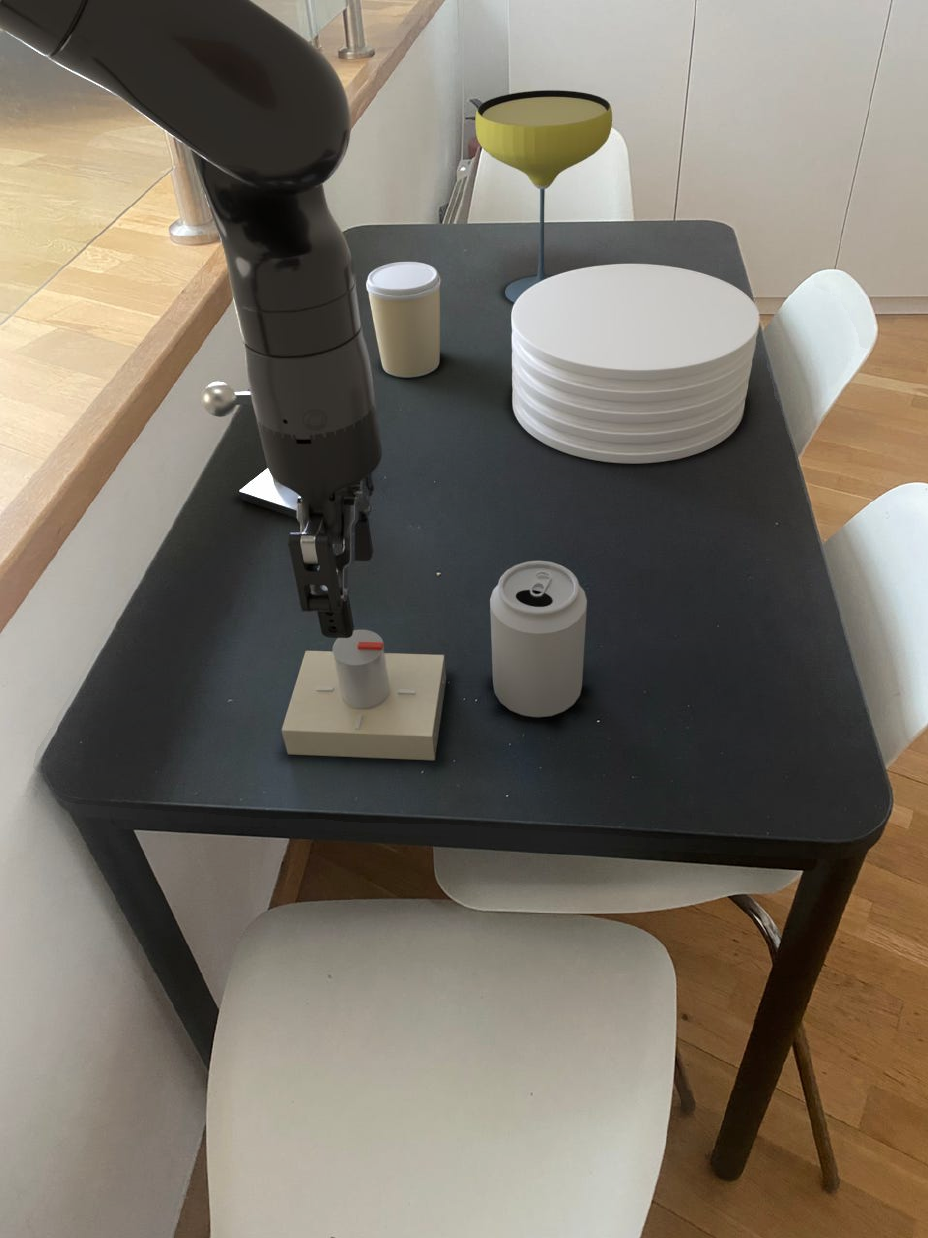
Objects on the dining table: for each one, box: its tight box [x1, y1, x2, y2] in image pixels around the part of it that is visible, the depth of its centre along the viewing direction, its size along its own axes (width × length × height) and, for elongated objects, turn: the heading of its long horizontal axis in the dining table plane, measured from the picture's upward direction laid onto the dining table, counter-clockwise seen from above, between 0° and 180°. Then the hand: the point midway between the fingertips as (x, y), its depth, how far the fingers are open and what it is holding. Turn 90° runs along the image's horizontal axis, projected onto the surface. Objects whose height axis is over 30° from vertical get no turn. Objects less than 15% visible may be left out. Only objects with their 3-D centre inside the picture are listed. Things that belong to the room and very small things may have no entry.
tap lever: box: [201, 381, 253, 418], centre depth 91 cm, size 13×3×3 cm, turn 150°
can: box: [489, 560, 588, 718], centre depth 74 cm, size 8×8×12 cm
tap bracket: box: [238, 468, 300, 519], centre depth 99 cm, size 11×9×13 cm
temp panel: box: [281, 650, 447, 761], centre depth 76 cm, size 12×9×3 cm
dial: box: [332, 629, 390, 709], centre depth 73 cm, size 4×4×5 cm
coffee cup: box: [365, 261, 441, 378], centre depth 119 cm, size 9×9×12 cm
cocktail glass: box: [474, 89, 613, 304], centre depth 129 cm, size 18×18×25 cm
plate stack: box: [510, 263, 761, 465], centre depth 109 cm, size 28×28×12 cm
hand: (349, 594), depth 68 cm, fingers open, 8 cm apart
